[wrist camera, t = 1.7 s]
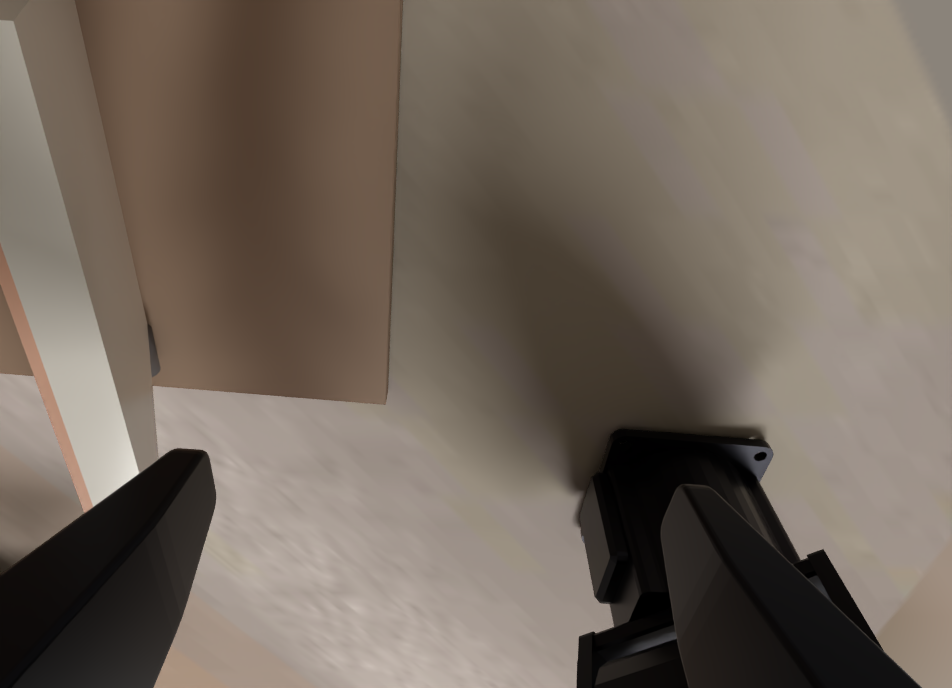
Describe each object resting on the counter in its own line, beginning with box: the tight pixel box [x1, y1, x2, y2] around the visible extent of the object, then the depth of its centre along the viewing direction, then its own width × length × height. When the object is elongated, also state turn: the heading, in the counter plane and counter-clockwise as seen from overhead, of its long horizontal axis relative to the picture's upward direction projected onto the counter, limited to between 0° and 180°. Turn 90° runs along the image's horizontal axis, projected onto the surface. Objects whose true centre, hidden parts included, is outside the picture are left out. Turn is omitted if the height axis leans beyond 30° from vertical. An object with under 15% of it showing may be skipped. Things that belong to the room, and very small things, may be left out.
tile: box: [0, 0, 158, 513], centre depth 13 cm, size 10×10×1 cm
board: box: [0, 0, 403, 405], centre depth 17 cm, size 20×16×2 cm
